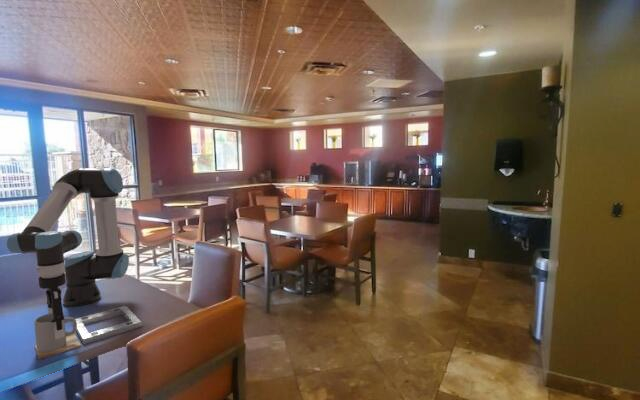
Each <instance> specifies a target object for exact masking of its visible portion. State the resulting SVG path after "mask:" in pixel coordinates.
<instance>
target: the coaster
mask: <svg viewBox="0 0 640 400" xmlns="http://www.w3.org/2000/svg"><path fill="white" fill-rule="evenodd" d="M75 333H76V332H75ZM75 333H74V334H72V335H70V336H66V344H65V345H64V346H63V347H62V348H60V349H57V350H55V351H51V352H46V353H41V352H38V351H37V348H36V343H35V344H34V348H35V350H36V355H37V358H38V360H42V359H44V358H49V357H51V356H52V357H53V356H55V355H58V354H61V353H65V352H67V351H71V350H75V349H77V348H80V347H81V346H82V344H81V343H80V340H79V338H77V335H76V334H75Z"/></svg>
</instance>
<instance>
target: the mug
mask: <svg viewBox="0 0 640 400" xmlns="http://www.w3.org/2000/svg"><path fill="white" fill-rule="evenodd" d="M63 316H64V320H63V322H64V333H65V337H62V338H59V339H55V334H54V323H52V322H51V321H52V320H54V317H53V313H51V314H49V313H46V314H44V315H41V316H38V317H37V318H35V320H34V332H35V344H36V348H37V351H38V352H41V353H46V352H51V351H55V350H57V349H60V348H62V347H63V346H64V345H65V344H66V336H70V335H72V334H74V333H77V331H76V329H77V322H76V320H75V319H76V318H74V317H73V316H71V317H65V313H63ZM57 318H58V317H57ZM69 322H71V323H72V325H73V324H74V326H73V329H72V330H69V331H68V330H66V323H69ZM36 348H35V349H36Z"/></svg>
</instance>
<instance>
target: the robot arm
mask: <svg viewBox="0 0 640 400" xmlns="http://www.w3.org/2000/svg"><path fill="white" fill-rule="evenodd" d="M123 187H124V183H123V178H122V176H121V173H120V172H119V171H118V170H117V169H115V168H108V167H107V168H106V167H97V168H95V167H94V168H93V167H92V168H87V167H86V168H85V167H81V168H75V169H73V170H70V171H69V172H67V173H65V174H64V175H62V176H61V177H60V178H58V180H57V181H56V182H55V183H54V184H53V186H52V188H51V189H52V192H50V194H49V196H48V197H47V198H46V199H45V201H44V202H43V204H42V205H41V206H40V207H39V209H38V211H37V212H35V215H34V216H32V219H31V220H30V221H29V222H28V224H27V226H26V227H25V228H24V229H23V230H22V232H17V233H13V234H10V235H9V236H8V237H7V239H6V248H7V249H8V251H9V252H11V253H12V254H35V255H36V263H37V267H36V268H35V272H37V273H38V286H39V288H40V289H43V290H44V289H45V295H46V300H47V301H46V305H47V311H48V313H47V314H51V313H53V317H54V320H52V321H51V322H52V323H54V334H55V339H59V338H62V337H65V333H64V322H63V320H64V318H65V315H64V316H63V314H64V310H63V306H66V307H79V306H84V305H89V304H92V303H94V302H97V301H98V300H100V299H101V298H102V297H101V294H102V293H101V291H100V289H99V287H98V285H97V283H96V282H97V281H96V280H104V279H106V280H107V279H109V280H110V279H112V280H114V279H120V278H123V277H124V276H125V275H126V273H127V271H128V268H129V263H130V258H129V255H128V254H127V253H124V249H122V248H121V246H120V239H119V228H118V218H117V217H118V214H117V204H116V203H117V202H116V199H117V198H118V197H119V194H120V193H121V192H122V191H123V189H124V188H123ZM80 194H89V198H90V199H91V200H92V201H93V202H94V203H93V204H94V214H95V226H96V235H97V245H98V250H97V251H96V252H95V253H94V252H93V251H84V252H79V253H75V254H72V255H69V256H67V257H66V258H64V254H65V253H68V252H71V251H74V250H75V249H77V248H78V247H80V245H82V242H83V237H82V235H81V233H80V232H78V231H77V230H74V229H71V230H70V229H69V230H65V231H57V230H56V231H55V230H52V229H53V228H54V226H55V225H56V223H57V222H58V221H59V219H60V217H61V216H62V214H63V213H64V211H65V210H66V208H67V207H68V206H69V204H70V203H71V202H72V200H74V199H77V197H78V195H80ZM64 285H65V286H66V287H65V290H64V295H63V298H62V296H61V295H62V290H61V288H59V287H61V286H64ZM57 317H58V318H57Z"/></svg>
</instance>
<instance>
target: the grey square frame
mask: <svg viewBox="0 0 640 400" xmlns="http://www.w3.org/2000/svg"><path fill="white" fill-rule="evenodd" d="M121 315H122V316H123V317H124V318H125V319H126V320H127V321H126V322H123V323H118V324H116V325H111V326H108V327H105V328H101V329H98V330H95V331H92V332H89V331H88V329H87V328H86V325H90V324H92V323H96V322H99V321H103V320H107V319H112V318H115V317H118V316H121ZM75 320H76V322H77V329H76V333H77V335H78V337H79V339H80V340H81V342H82V344H83V345H85V344H90V343H92V342H96V341H100V340H103V339H105V338H109V337H112V336H115V335H118V334H121V333H122V334H123V333H125V332H128V331H131V330H135V329H138V328H141V327H142V325H143V324H142V321H141V320H140V319H139V318H138V317H137V315H135V313H133V312H132V310H131V309H130V308H128V307H127V306H126V305H123V306H119V307H116V308H112V309H107V310H104V311H101V312H97V313H94V314H89V315H85V316H82V317H77V318H75ZM72 326H73V327H74V324H73V323H72Z"/></svg>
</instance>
